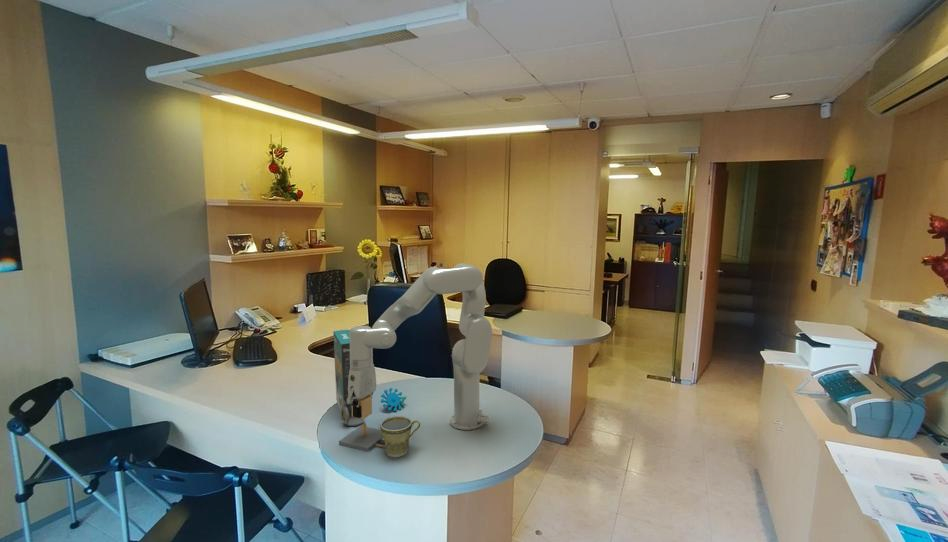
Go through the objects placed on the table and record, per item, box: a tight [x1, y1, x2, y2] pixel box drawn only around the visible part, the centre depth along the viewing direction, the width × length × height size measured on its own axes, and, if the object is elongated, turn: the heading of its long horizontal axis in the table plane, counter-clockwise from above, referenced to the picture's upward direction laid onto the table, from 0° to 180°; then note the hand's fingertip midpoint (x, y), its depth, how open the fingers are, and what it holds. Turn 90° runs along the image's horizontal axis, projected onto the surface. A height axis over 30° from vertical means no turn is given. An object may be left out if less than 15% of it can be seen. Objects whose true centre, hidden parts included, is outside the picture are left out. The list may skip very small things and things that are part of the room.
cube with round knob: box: [352, 395, 373, 420], centre depth 144 cm, size 5×5×8 cm
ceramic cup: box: [380, 415, 421, 459], centre depth 138 cm, size 13×10×10 cm
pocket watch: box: [340, 400, 365, 427], centre depth 157 cm, size 8×8×10 cm
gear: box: [380, 387, 408, 413], centre depth 172 cm, size 11×6×10 cm
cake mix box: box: [333, 329, 352, 418], centre depth 170 cm, size 22×6×30 cm, turn 26°
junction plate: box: [338, 422, 386, 452], centre depth 145 cm, size 16×12×6 cm
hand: (362, 413), depth 145 cm, fingers closed on cube with round knob, 4 cm apart
